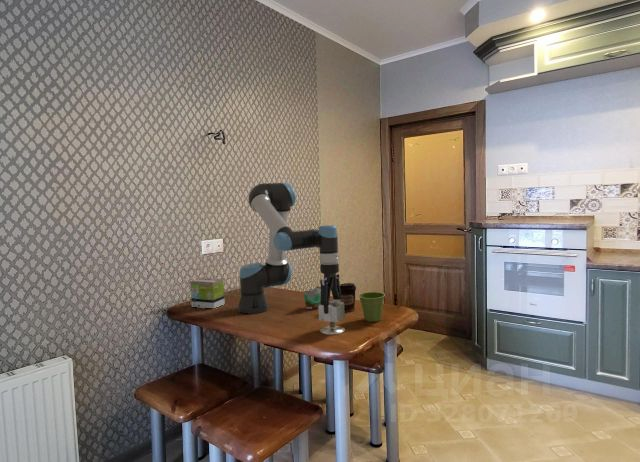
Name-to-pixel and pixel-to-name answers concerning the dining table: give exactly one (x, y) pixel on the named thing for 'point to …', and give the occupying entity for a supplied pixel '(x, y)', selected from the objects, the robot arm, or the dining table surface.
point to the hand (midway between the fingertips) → (332, 317)
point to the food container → (312, 298)
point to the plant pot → (372, 305)
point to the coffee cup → (348, 296)
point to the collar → (333, 311)
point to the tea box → (207, 293)
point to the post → (332, 328)
